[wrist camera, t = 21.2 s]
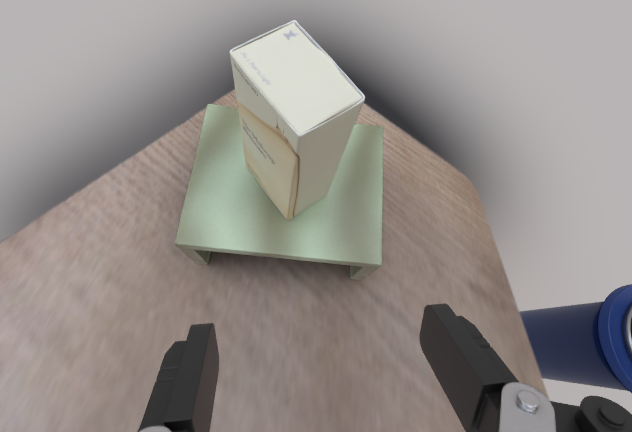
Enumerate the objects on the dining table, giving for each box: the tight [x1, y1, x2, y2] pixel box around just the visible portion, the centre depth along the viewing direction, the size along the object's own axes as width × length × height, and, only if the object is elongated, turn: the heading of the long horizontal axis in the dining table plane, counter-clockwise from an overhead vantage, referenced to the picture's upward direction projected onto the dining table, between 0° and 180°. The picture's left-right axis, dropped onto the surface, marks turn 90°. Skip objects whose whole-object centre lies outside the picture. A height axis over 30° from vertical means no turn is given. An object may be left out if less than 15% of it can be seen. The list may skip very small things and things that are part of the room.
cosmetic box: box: [230, 20, 365, 220], centre depth 22 cm, size 6×4×12 cm
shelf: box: [174, 104, 383, 280], centre depth 31 cm, size 16×13×7 cm
